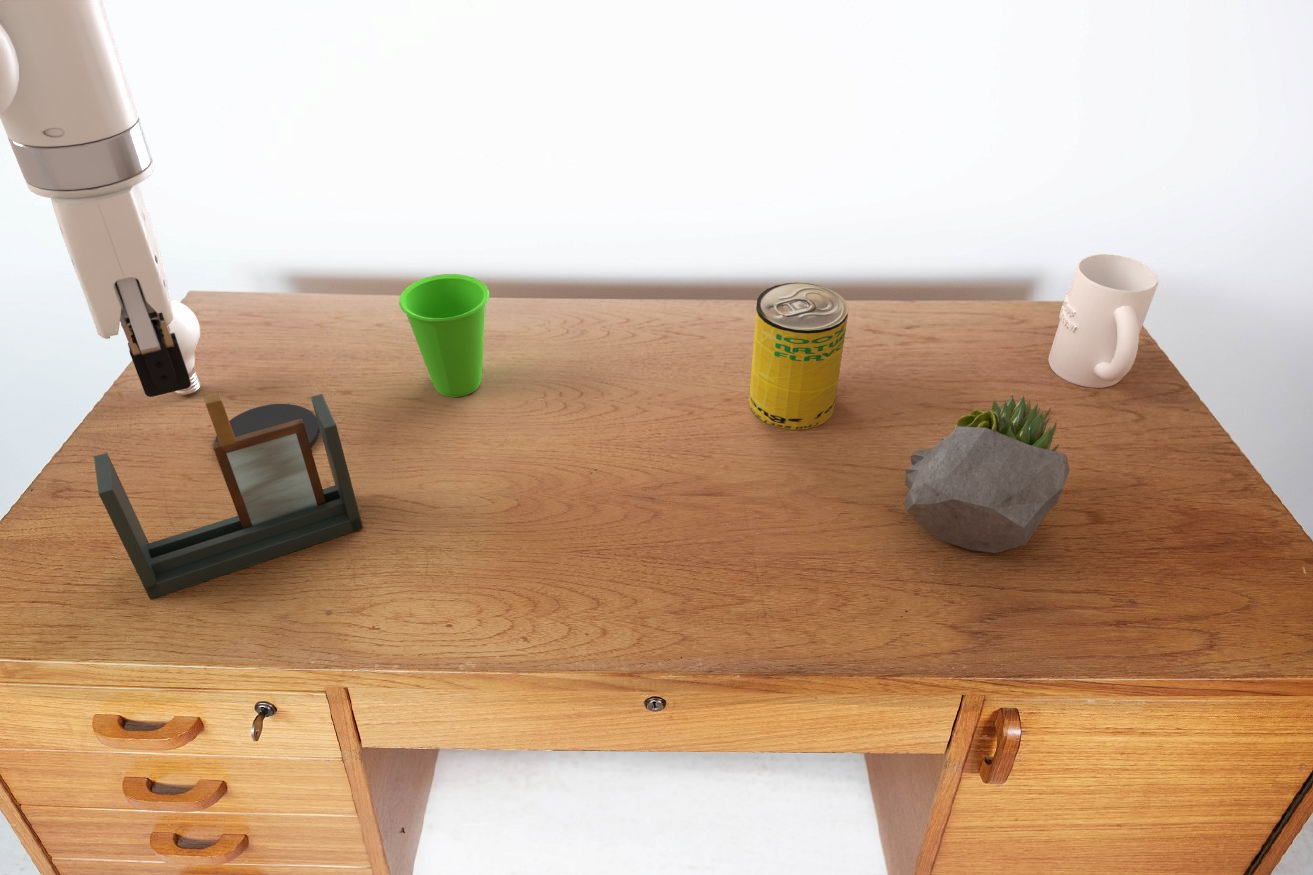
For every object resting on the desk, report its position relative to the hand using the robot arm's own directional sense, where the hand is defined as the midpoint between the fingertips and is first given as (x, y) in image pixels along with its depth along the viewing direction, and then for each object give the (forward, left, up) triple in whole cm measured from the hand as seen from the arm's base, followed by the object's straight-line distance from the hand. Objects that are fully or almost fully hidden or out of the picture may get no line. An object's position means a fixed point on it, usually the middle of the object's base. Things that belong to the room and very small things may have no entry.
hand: (168, 386), depth 74 cm
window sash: (+5, 0, -16) cm, 17 cm away
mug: (+88, -16, -18) cm, 91 cm away
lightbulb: (0, +27, -18) cm, 33 cm away
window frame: (+2, 0, -18) cm, 18 cm away
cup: (+26, +15, -18) cm, 35 cm away
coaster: (+6, +15, -18) cm, 24 cm away
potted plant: (+61, -27, -18) cm, 69 cm away
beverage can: (+56, -5, -18) cm, 59 cm away
